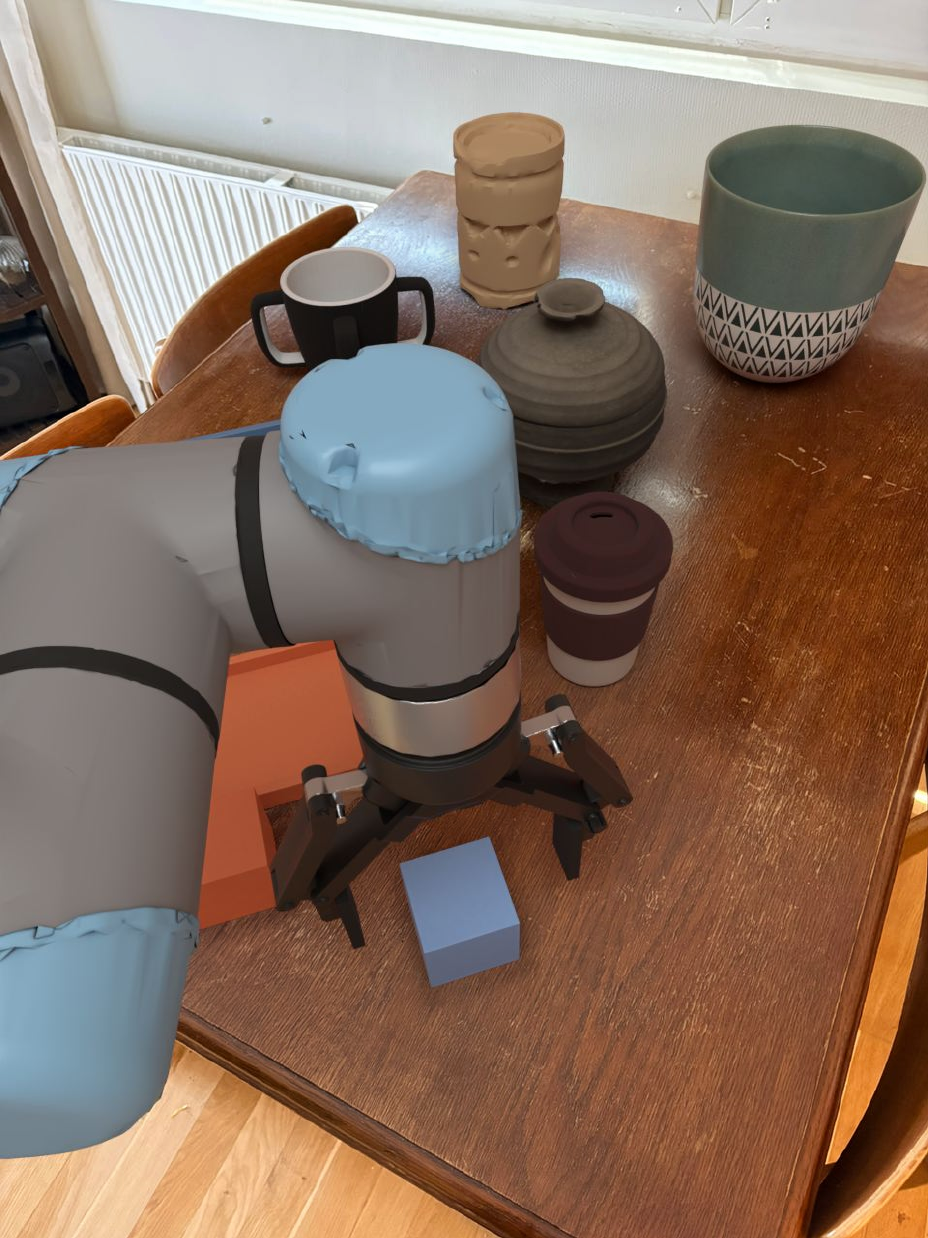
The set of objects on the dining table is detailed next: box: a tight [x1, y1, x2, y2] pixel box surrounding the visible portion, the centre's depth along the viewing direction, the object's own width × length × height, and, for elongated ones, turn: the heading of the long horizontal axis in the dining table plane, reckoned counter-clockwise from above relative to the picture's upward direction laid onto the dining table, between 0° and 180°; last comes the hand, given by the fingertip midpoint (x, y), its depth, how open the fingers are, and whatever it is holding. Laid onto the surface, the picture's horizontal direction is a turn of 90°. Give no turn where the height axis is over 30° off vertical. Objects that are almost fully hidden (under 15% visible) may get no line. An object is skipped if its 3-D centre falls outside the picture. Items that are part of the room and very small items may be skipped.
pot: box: [475, 277, 668, 509], centre depth 82 cm, size 18×18×20 cm
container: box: [452, 111, 566, 311], centre depth 107 cm, size 13×13×18 cm
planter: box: [692, 124, 927, 384], centre depth 92 cm, size 20×20×21 cm
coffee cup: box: [533, 491, 674, 687], centre depth 69 cm, size 10×10×15 cm
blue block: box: [398, 836, 521, 989], centre depth 57 cm, size 6×6×6 cm
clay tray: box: [211, 640, 363, 810], centre depth 70 cm, size 17×14×2 cm
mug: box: [249, 246, 436, 372], centre depth 98 cm, size 16×16×12 cm
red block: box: [198, 787, 277, 931], centre depth 61 cm, size 6×6×6 cm
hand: (462, 893), depth 55 cm, fingers open, 13 cm apart
